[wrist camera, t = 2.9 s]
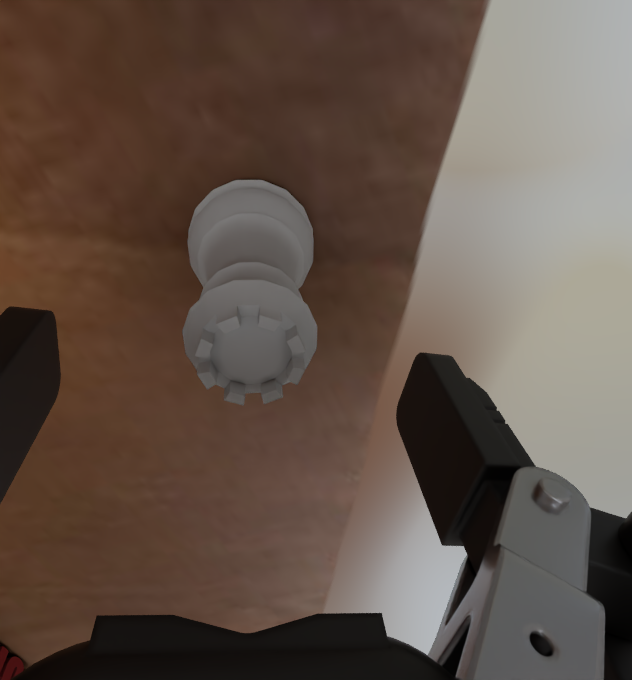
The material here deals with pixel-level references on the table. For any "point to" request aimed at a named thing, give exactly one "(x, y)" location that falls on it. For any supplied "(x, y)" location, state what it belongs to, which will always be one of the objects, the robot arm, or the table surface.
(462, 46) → the table surface
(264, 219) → the rook chess piece
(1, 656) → the extruded letter emblem
